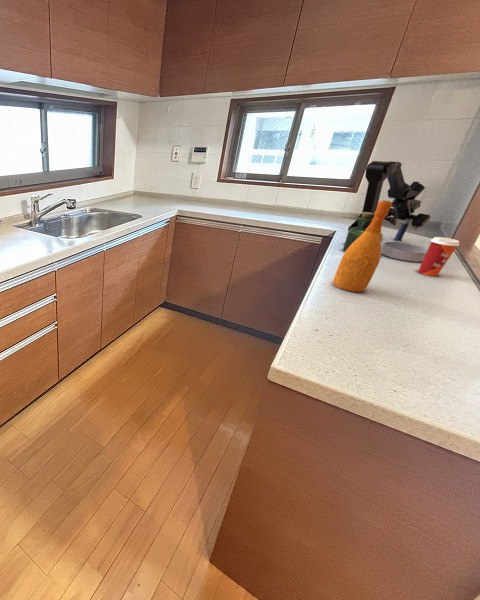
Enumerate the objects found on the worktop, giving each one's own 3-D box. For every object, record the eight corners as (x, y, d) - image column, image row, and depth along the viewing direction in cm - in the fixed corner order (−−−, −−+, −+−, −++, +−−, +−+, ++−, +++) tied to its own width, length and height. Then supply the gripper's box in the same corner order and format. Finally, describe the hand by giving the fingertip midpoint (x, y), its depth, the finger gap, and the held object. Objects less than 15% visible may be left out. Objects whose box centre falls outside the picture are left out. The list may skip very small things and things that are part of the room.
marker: (399, 241, 169) (410, 218, 163) (392, 239, 171) (403, 216, 166) (402, 240, 170) (413, 217, 164) (395, 238, 172) (406, 216, 167)
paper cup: (436, 278, 124) (456, 243, 118) (410, 271, 130) (428, 237, 124) (444, 275, 127) (464, 240, 121) (419, 268, 133) (437, 235, 127)
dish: (414, 264, 138) (420, 254, 135) (371, 253, 150) (375, 243, 148) (431, 259, 144) (437, 249, 142) (388, 248, 157) (393, 239, 155)
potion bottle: (355, 255, 146) (373, 215, 138) (336, 250, 153) (352, 211, 145) (365, 253, 150) (383, 214, 141) (346, 248, 156) (362, 210, 148)
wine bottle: (367, 295, 109) (411, 205, 95) (332, 288, 114) (369, 201, 100) (363, 285, 117) (403, 200, 103) (330, 279, 121) (364, 196, 107)
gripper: (438, 197, 151) (440, 219, 159) (393, 191, 166) (396, 211, 175) (419, 215, 152) (422, 236, 161) (376, 207, 168) (380, 227, 176)
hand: (405, 227), depth 168 cm, fingers open, 9 cm apart
